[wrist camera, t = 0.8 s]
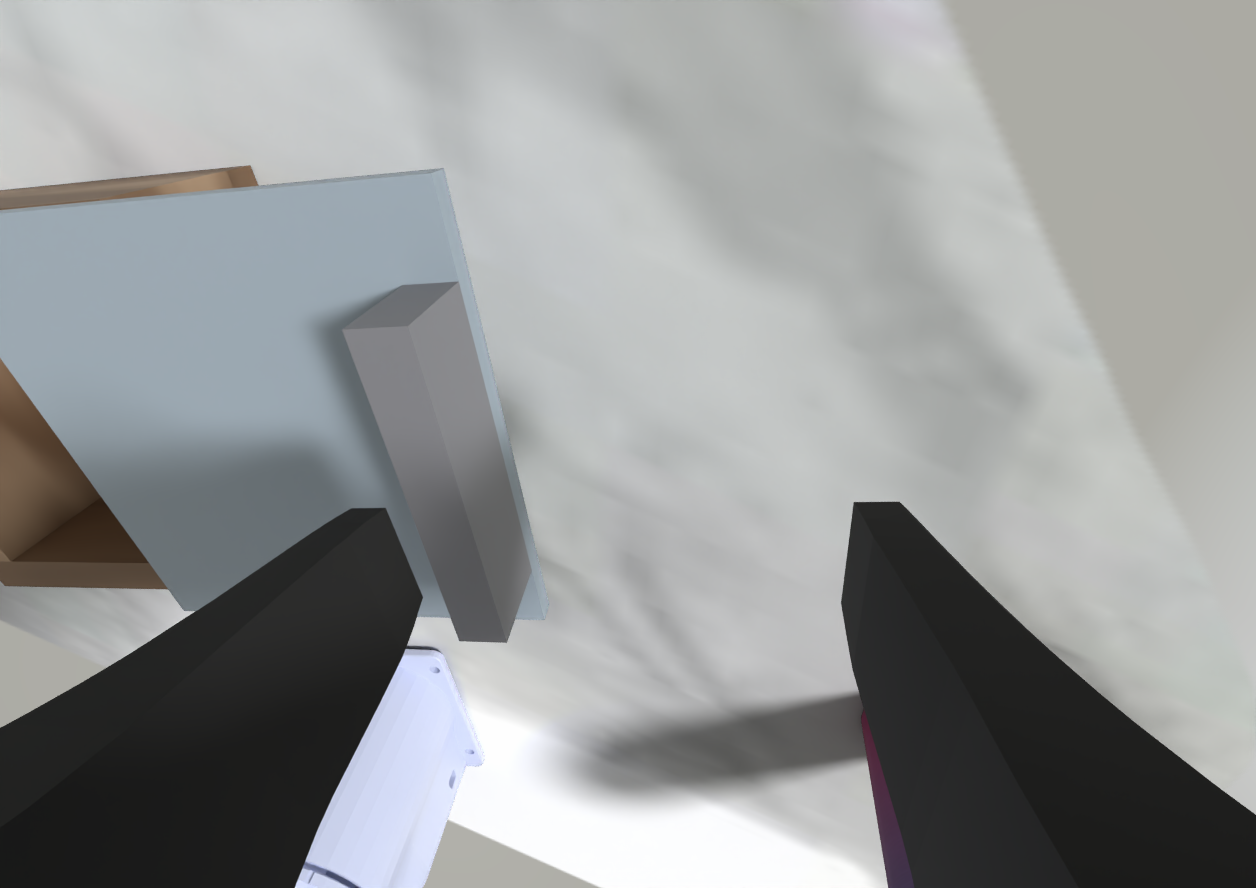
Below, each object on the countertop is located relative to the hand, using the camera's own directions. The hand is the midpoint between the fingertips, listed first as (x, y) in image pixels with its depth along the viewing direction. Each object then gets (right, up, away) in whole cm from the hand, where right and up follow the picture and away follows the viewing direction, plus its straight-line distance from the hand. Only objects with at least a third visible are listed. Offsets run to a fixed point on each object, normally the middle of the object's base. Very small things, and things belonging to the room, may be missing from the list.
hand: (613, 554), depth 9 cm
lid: (-9, +2, +6) cm, 11 cm away
